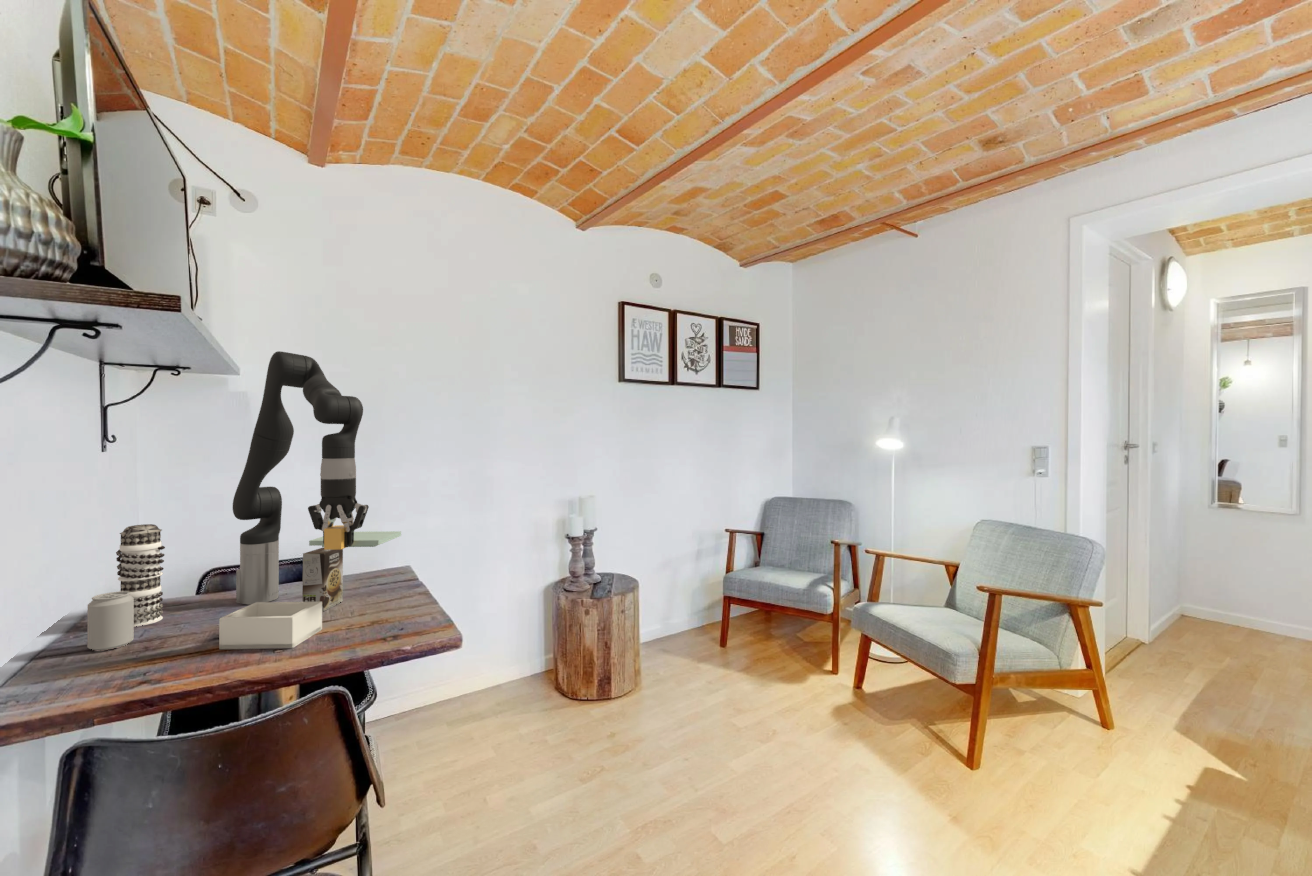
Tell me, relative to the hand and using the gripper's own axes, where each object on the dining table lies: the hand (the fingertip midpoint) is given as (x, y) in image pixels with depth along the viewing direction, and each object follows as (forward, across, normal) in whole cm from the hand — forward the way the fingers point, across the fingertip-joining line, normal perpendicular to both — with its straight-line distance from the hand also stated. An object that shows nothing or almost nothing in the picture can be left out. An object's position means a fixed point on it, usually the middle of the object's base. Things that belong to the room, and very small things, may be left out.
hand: (338, 546), depth 133 cm
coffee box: (+22, +16, -21) cm, 34 cm away
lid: (+1, 0, -6) cm, 6 cm away
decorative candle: (+21, +56, -10) cm, 60 cm away
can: (+21, +47, +7) cm, 52 cm away
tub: (+21, +13, +4) cm, 25 cm away
